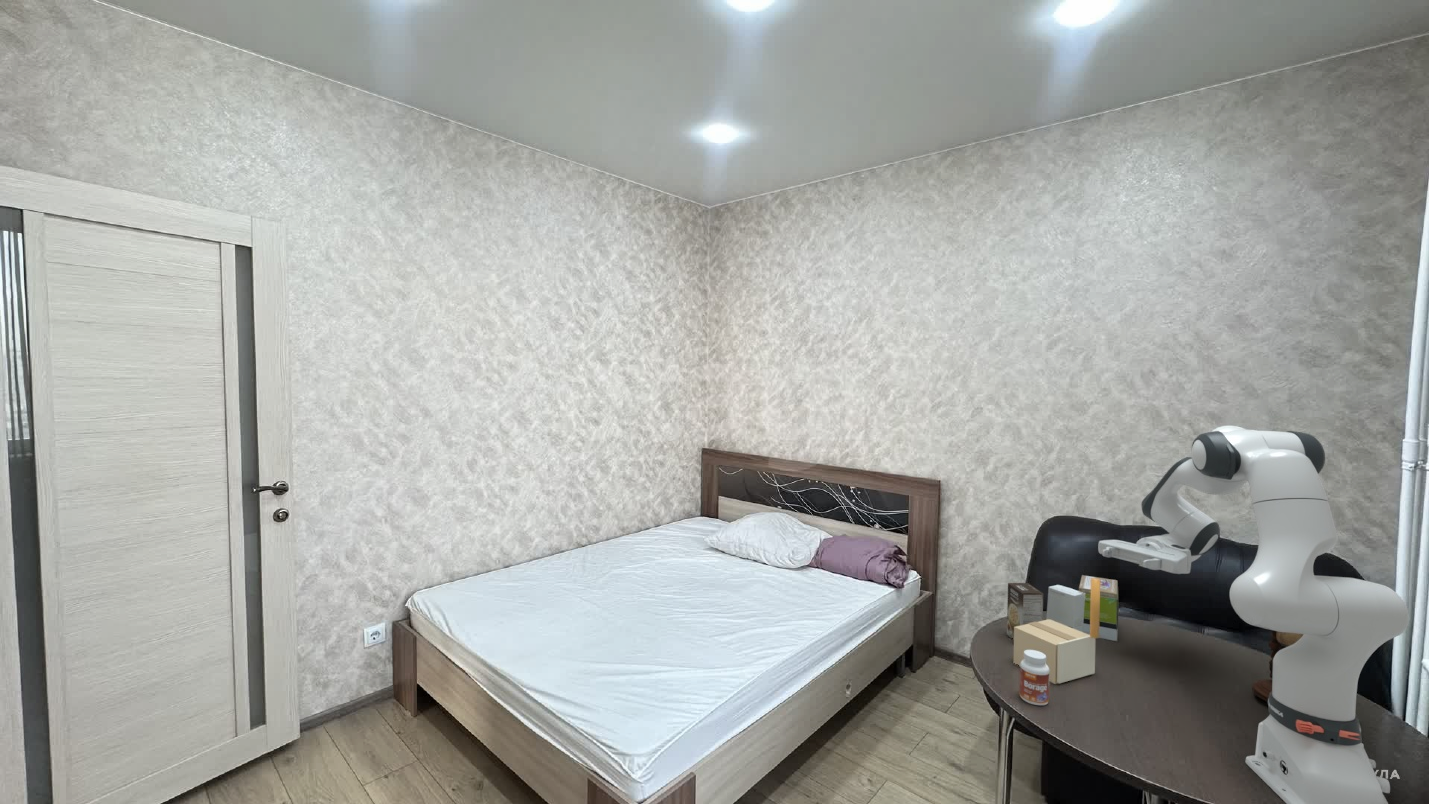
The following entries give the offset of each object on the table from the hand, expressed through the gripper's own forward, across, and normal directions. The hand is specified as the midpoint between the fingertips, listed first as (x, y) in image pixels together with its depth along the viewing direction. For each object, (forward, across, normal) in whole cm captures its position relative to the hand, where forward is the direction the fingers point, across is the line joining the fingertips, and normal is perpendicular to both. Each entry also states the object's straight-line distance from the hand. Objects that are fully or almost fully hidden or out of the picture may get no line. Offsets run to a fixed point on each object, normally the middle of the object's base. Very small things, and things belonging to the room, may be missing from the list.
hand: (1123, 558), depth 153 cm
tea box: (-20, -19, +30) cm, 41 cm away
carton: (+17, -7, +30) cm, 35 cm away
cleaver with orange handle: (+17, 0, +29) cm, 34 cm away
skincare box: (-4, -19, +30) cm, 36 cm away
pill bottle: (+36, +2, +30) cm, 47 cm away
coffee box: (+9, -22, +30) cm, 38 cm away
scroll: (-19, +28, +30) cm, 45 cm away
